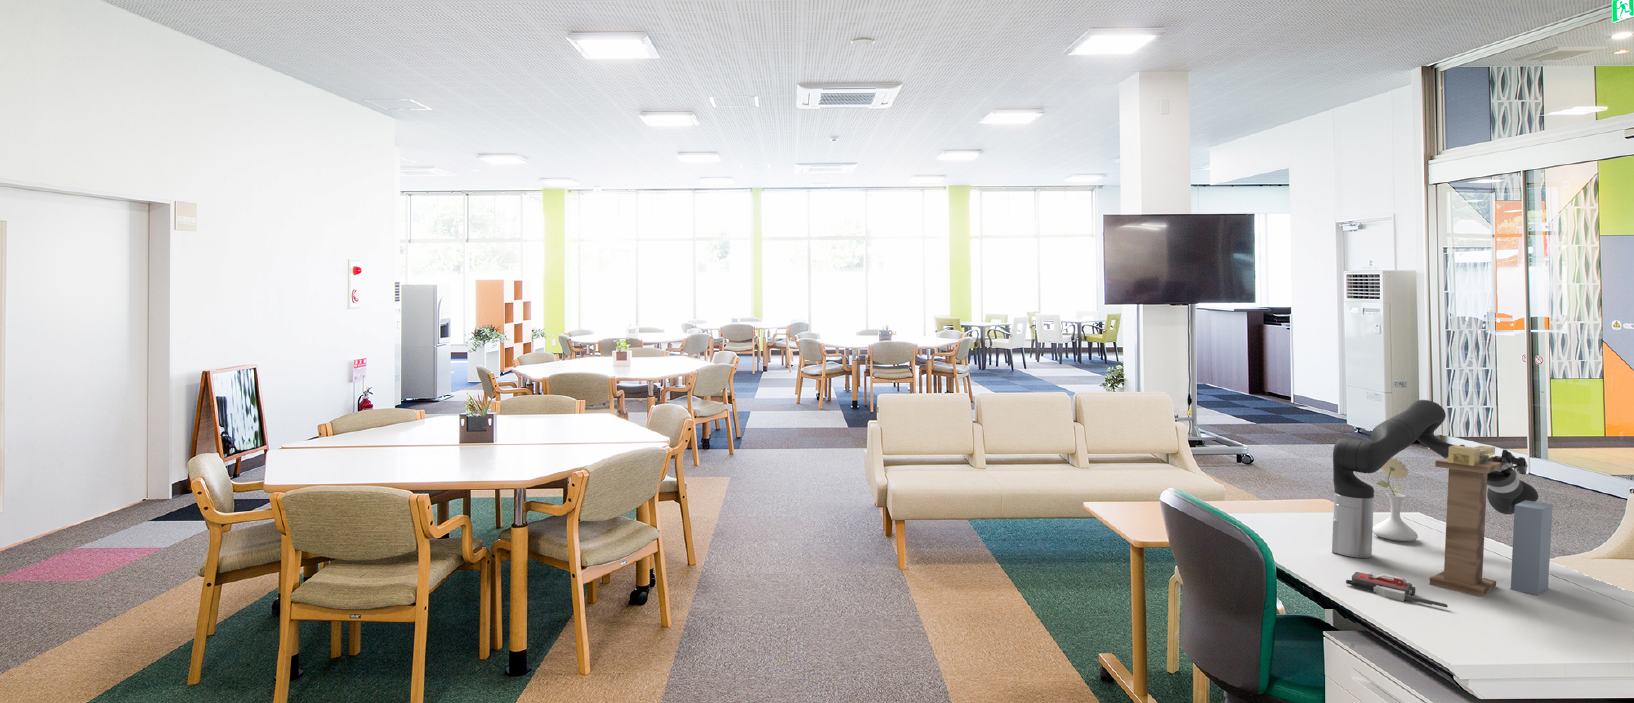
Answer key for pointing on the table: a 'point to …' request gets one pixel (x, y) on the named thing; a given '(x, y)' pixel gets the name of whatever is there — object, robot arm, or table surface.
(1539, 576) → the grey rectangular pillar
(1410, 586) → the red long two-tone device
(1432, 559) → the table surface
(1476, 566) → the brown wooden pedestal
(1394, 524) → the flower in vase
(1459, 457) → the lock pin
